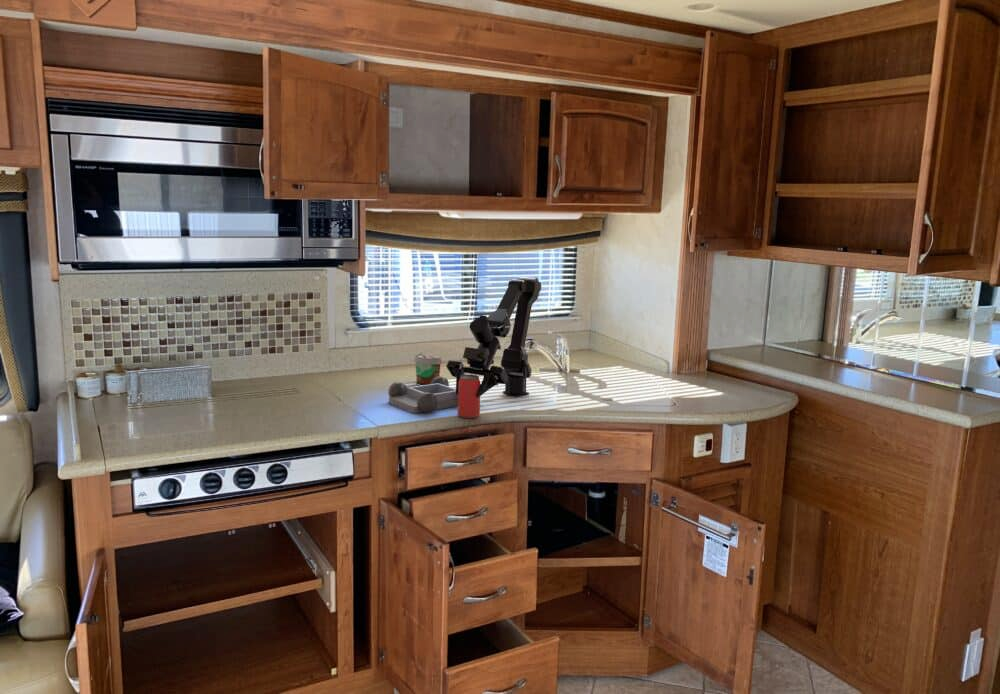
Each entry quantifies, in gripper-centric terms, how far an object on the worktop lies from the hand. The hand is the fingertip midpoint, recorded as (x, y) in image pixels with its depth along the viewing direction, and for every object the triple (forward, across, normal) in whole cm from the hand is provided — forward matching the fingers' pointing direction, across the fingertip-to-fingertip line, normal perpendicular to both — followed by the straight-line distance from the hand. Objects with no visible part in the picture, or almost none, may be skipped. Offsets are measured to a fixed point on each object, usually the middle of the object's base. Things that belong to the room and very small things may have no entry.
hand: (466, 395), depth 231 cm
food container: (-15, -33, +25) cm, 44 cm away
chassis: (-1, -17, +11) cm, 20 cm away
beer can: (+4, 0, +6) cm, 7 cm away
